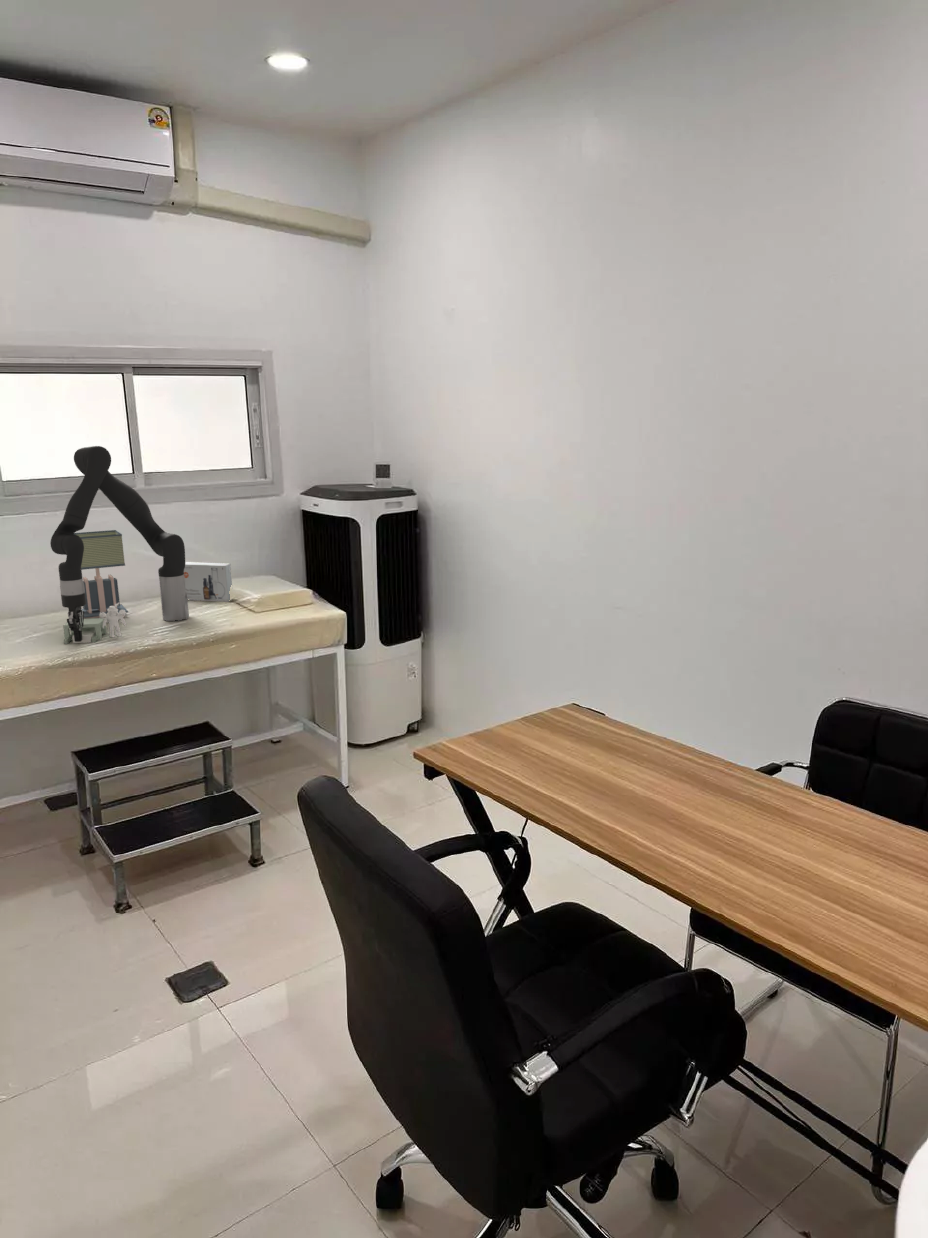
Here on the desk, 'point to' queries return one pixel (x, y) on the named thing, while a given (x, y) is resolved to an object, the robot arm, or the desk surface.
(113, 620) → the hat wearing toy figure
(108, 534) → the desk lamp
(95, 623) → the shelf
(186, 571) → the skincare box
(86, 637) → the cover plate
